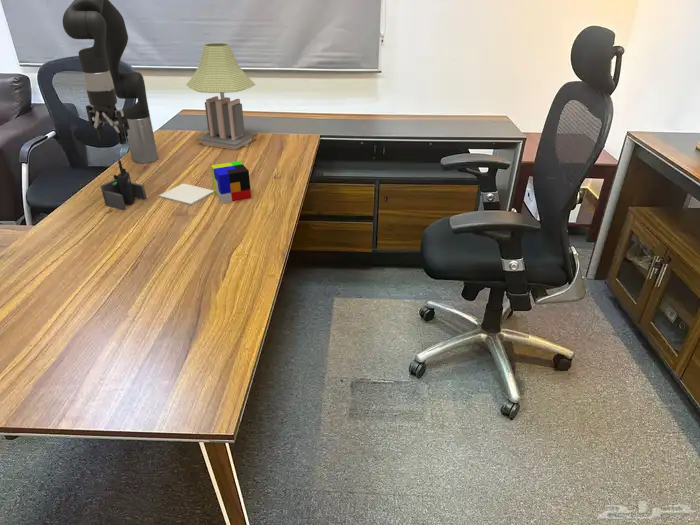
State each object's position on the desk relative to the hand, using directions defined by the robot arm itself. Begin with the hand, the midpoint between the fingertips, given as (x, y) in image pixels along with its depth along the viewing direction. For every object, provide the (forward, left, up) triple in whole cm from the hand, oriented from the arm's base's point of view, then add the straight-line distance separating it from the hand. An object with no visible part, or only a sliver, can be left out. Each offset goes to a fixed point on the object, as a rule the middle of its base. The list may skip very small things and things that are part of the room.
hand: (113, 141), depth 152 cm
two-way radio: (0, 0, -21) cm, 21 cm away
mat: (+13, +14, -21) cm, 28 cm away
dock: (0, 0, -21) cm, 21 cm away
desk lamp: (-10, +66, -21) cm, 70 cm away
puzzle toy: (+27, +21, -21) cm, 40 cm away
